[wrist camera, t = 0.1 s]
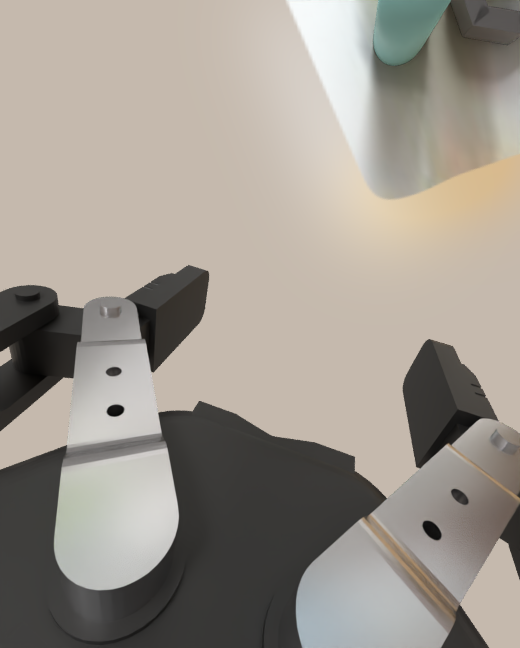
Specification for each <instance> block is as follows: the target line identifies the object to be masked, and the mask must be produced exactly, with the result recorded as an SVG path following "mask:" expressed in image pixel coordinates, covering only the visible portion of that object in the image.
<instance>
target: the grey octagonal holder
mask: <svg viewBox="0 0 520 648" xmlns="http://www.w3.org/2000/svg"><path fill="white" fill-rule="evenodd" d="M450 3H451V6H452V9H453V11H454V14H455V17H456V20H457V23H458V26H459V28H460V31H461V34H462V37H466V38H472V39H477V40H483V41H488V42H494V43H499V44H505V45H508V44H510V43H511V42H513V41H514V40H516V39H517V38H519V37H520V11H514V10H509V9H503V8H497V7H491V6H488V5H487V2H486V0H451V2H450Z"/></svg>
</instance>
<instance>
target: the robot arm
mask: <svg viewBox="0 0 520 648" xmlns="http://www.w3.org/2000/svg"><path fill="white" fill-rule="evenodd" d="M208 282H209V272H208V271H206V270H203V269H199V268H196V267H193V266H190V265H188V266H186V267H185V268H183V269H182V270H180V271H179V272H177V273H176V274H172V273H171V274H167V275H163V276H159V277H158V278H156V279H155V280H153V281H151V283H148V284H147V285H145V286H144V287H142V288H140V289H139V290H137V291H135V292H134V293H133V294H131V295H129V296H128V297H126V298H120V297H101V298H96V299H93V300H91V301H89V302H88V303H87V304H86V305H85V306H84V308H75V307H68V306H60V305H58V298H57V293H56V292H55V291H54V290H52V289H50V288H47V287H43V286H35V285H26V286H18V287H13V288H9V289H7V290H5V291H2V292H0V352H1V351H3V350H4V349H6V348H7V347H9V348H10V353H11V357H12V359H11V360H9V361H8V362H7V363H5V364H3V365H2V366H0V431H1V430H2V429H4V428H5V427H6V426H7V425H8V424H9V423H11V422H12V421H13V420H14V419H15V418H16V417H18V416H19V415H20V414H21V413H22V412H24V411H25V410H26V409H27V408H28V407H29V406H31V405H32V404H33V403H34V402H35V401H36V400H38V399H39V398H40V397H41V396H42V395H44V394H45V393H46V392H47V391H48V390H49V389H51V388H52V387H53V386H54V385H55V384H56V383H58V382H59V381H60V380H61V379H62V378H63V377H65V378H74V380H73V390H72V400H71V411H70V422H69V431H68V442H67V445H66V446H63V447H61V448H58V449H55V450H53V451H50V452H47V453H44V454H42V455H39V456H36V457H34V458H31V459H28V460H26V461H23V462H20V463H18V464H15V465H12V466H9V467H6V468H4V469H1V470H0V648H489V647H488V645H487V644H486V642H485V641H484V640H483V638H482V637H481V635H480V634H479V632H478V631H477V629H476V628H475V626H474V625H473V623H472V622H471V620H470V619H469V617H468V616H467V614H465V611H464V610H463V609H462V607H461V606H460V603H461V601H462V599H463V598H464V596H465V594H466V592H467V591H468V589H469V588H470V586H471V584H472V583H473V581H474V579H475V577H476V576H477V574H478V573H479V571H480V569H481V568H482V566H483V564H484V563H485V561H486V559H487V557H488V556H489V554H490V552H491V551H492V549H493V547H494V546H495V544H496V542H497V541H498V539H499V538H500V539H502V540H504V541H505V542H507V543H508V544H509V548H510V551H511V554H512V557H513V561H514V563H515V567H516V570H517V573H518V576H519V579H520V433H518V432H517V431H516V430H514V429H513V428H511V427H509V426H507V425H505V424H503V423H501V422H499V421H498V419H497V417H496V415H495V413H494V411H493V409H492V407H491V405H490V403H489V401H488V399H487V398H485V396H486V395H485V393H484V391H483V389H481V385H480V384H479V382H478V380H477V378H476V376H475V375H474V374H473V373H472V372H471V371H470V370H469V369H468V368H467V367H466V366H465V365H464V364H461V362H460V360H459V358H458V356H457V354H456V351H455V349H454V348H453V346H450V345H447V344H444V343H440V342H437V341H434V340H430V339H429V340H427V341H426V342H425V343H424V345H423V346H422V348H421V350H420V351H419V353H418V355H417V357H416V359H415V360H414V362H413V364H412V366H411V367H410V369H409V371H408V373H407V375H406V377H405V380H404V383H403V395H404V401H405V406H406V411H407V417H408V423H409V429H410V434H411V439H412V445H413V451H414V457H415V462H416V467H418V468H420V469H419V470H418V471H417V472H416V473H415V474H414V475H413V476H411V477H410V478H409V479H408V480H407V481H406V482H405V483H404V484H403V485H402V486H401V487H399V488H398V489H397V490H396V491H395V492H394V493H393V494H392V495H391V496H390V497H388V498H386V497H385V496H384V495H383V494H382V493H381V492H380V491H379V490H378V489H377V488H376V487H375V486H374V485H372V483H371V482H369V481H368V480H367V479H366V478H364V477H363V476H361V475H360V474H359V473H357V472H355V457H354V456H351V455H348V454H345V453H343V452H340V451H337V450H334V449H331V448H329V447H326V446H323V445H320V444H317V443H315V442H307V441H301V440H294V439H287V438H280V437H275V436H271V435H269V434H267V433H266V432H264V431H263V430H261V429H259V428H258V427H256V426H254V425H253V424H251V423H250V422H248V421H246V420H245V419H243V418H241V417H240V416H238V415H237V414H234V413H232V412H229V411H226V410H223V409H221V408H217V407H215V406H212V405H210V404H207V403H204V402H201V401H199V402H198V404H197V405H196V407H195V408H194V410H193V412H192V411H166V412H159V413H158V409H157V404H156V398H155V393H154V387H153V381H152V376H151V372H154V371H155V370H156V369H157V368H158V367H159V366H160V365H161V364H162V362H164V361H165V359H166V358H167V357H168V356H169V355H170V354H171V353H172V352H173V351H174V350H175V349H176V347H178V345H179V344H180V343H181V342H182V341H183V340H184V339H185V338H186V337H187V336H188V335H189V334H190V333H191V331H192V330H193V329H194V328H195V327H196V326H197V325H198V324H199V323H200V321H201V319H202V317H203V314H204V310H205V303H206V296H207V289H208Z"/></svg>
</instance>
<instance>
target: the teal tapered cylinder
mask: <svg viewBox="0 0 520 648" xmlns="http://www.w3.org/2000/svg"><path fill="white" fill-rule="evenodd" d="M450 2H451V0H378V7H377V14H376V21H375V28H374V36H373V45H374V50H375V53H376V55H377V56H378V58H379V59H380V60H381V61H382V62H383V63H385V64H387V65H392V66H397V65H402V64H404V63H406V62H408V61H410V60H411V59H412V58H414V57H415V56H416V55H417V54H418V52H419V51H420V50H421V48H422V47H423V45H424V44H425V42H426V40H427V39H428V37H429V35H430V34H431V32H432V31H433V29H434V27H435V26H436V24H437V23H438V21H439V19H440V18H441V16H442V14H443V13H444V11H445V10H446V8H447V6H448V5H449V3H450Z"/></svg>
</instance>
